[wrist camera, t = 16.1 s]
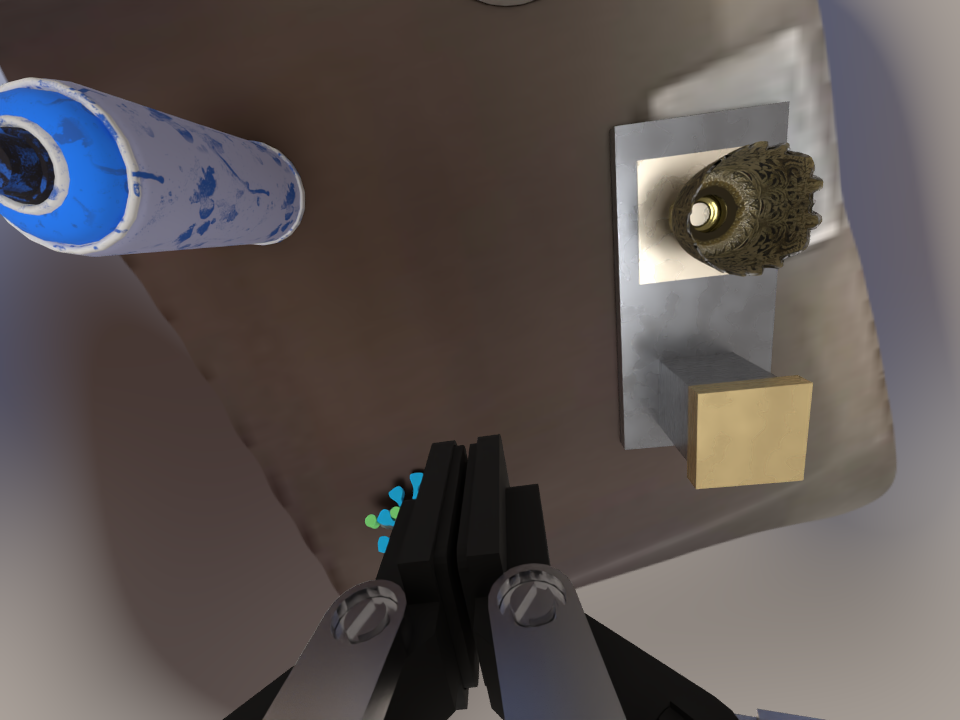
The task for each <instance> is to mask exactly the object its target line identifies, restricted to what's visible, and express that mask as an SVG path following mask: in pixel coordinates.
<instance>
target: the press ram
mask: <svg viewBox="0 0 960 720" xmlns="http://www.w3.org/2000/svg"><path fill="white" fill-rule="evenodd" d="M812 387H813V383H812V382H810V381H808V380H806V379H804V378H802V377H800V376H798V375H794V376H784V377H774V378H764V379H754V380H743V381H733V382H723V383H713V384H703V385H692V386H688V450H687V478H688V479H689V480H690V482H691V483H692V484H693V486H694V487H695V488H696V489H703V488H715V487H727V486H740V485H752V484H764V483H777V482H789V481H801V480H803V477H804V467H805V457H806V447H807V437H808V427H809V417H810V407H811V397H812Z"/></svg>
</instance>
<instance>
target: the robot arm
mask: <svg viewBox="0 0 960 720" xmlns="http://www.w3.org/2000/svg"><path fill="white" fill-rule="evenodd" d="M479 1H481V2H484V3H487V4H493V5H501V6H510V5H520V4H525V3H528V2H531V1H533V0H479ZM479 662H480V666H481V671H482V675H483V679H484V683H485V686H487V690H488V694H489V699H490V703H491V707H492V709H493V710H494V711H495V712H496V713H497V714H498V715H499V716H500V717H501V718H502V719H503V720H824V719H818V718H811V717H806V716H799V715H793V714H787V713H781V712H774V711H768V710H762V709H757V717H752V716H746V715H740V714H734V713H733V711H732V710H731V709H729V708H728V707H727V706H726V705H724V704H723V703H722V702H721V701H719V700H718V699H717V698H716V697H715V696H713V695H712V694H710V693H708V692H707V691H705V690H704V689H702V688H701V687H699V686H698V685H696V684H694V683H693V682H691V681H690V680H688V679H687V678H685V677H684V676H682V675H680V674H679V673H677V672H676V671H674V670H673V669H671V668H669V667H668V666H666V665H665V664H663V663H662V662H660V661H659V660H657V659H655V658H654V657H652V656H651V655H649V654H648V653H646V652H645V651H643V650H641V649H640V648H638V647H637V646H635V645H634V644H632V643H630V642H629V641H627V640H626V639H624V638H623V637H621V636H620V635H618V634H617V633H615V632H613V631H612V630H610V629H609V628H607V627H606V626H604V625H603V624H601V623H599V622H598V621H596V620H595V619H593V618H592V617H590V616H588V615H587V614H585V613H584V611H583V608H582V606H581V603H580V601H579V598H578V596H577V593H576V590H575V588H574V586H573V584H572V583H571V581H570V580H569V578H568V577H567V576H566V575H565V574H564V573H562V572H561V571H560V570H558V569H556V568H554V567H551V566H550V560H549V553H548V546H547V539H546V532H545V526H544V519H543V512H542V506H541V499H540V493H539V486H538V484H532V485H524V486H516V487H510V485H509V480H508V474H507V468H506V462H505V457H504V451H503V445H502V440H501V436H500V434H498V435H491V436H483V437H478V440H477V443H475V444H470V448H469V456H468V458H467V454H466V449H465V446H464V445H460V446H457V443H456V441H455V440H454V441H446V442H439V443H433V444H432V446H431V450H430V453H429V456H428V460H427V463H426V467H425V470H424V474H423V477H422V480H421V484H420V487H419V491H418V494H417V497H416V499H409V500H404V501H403V502H402V504H401V506H400V509H399V512H398V515H397V518H396V521H395V524H394V527H393V530H392V533H391V536H390V539H389V542H388V545H387V547H386V550H385V553H384V556H383V559H382V562H381V565H380V568H379V571H378V574H377V577H376V580H371V581H367V582H364V583H361V584H358V585H356V586H354V587H353V588H351V589H349V590H347V591H346V592H344V593H343V594H342V595H341V596H340V597H339V598H337V599H336V600H335V601H334V603H333V604H332V605H331V606H330V608H329V609H328V610H327V612H326V613H325V615H324V617H323V618H322V620H321V622H320V623H319V625H318V627H317V629H316V630H315V632H314V634H313V635H312V637H311V639H310V640H309V642H308V644H307V645H306V647H305V649H304V650H303V652H302V654H301V656H300V657H299V659H298V661H297V662H296V664H295V665H294V666H293V667H291V668H290V669H289V670H287V671H286V672H285V673H283V674H282V675H281V676H280V677H278V678H277V679H276V680H274V681H273V682H272V683H270V684H269V685H268V686H266V687H265V688H264V689H262V690H261V691H260V692H258V693H257V694H256V695H254V696H253V697H252V698H251V699H249V700H248V701H247V702H245V703H244V704H243V705H241V706H240V707H239V708H237V709H236V710H235V711H233V712H232V713H231V714H229V715H228V716H227V717H226V718H224V719H223V720H447V719H448V718H449V717H450V716H451V715H452V714H453V713H454V712H455V711H456V710H460V709H467V705H468V690H469V688H471V687H477V686H478V679H479Z"/></svg>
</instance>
